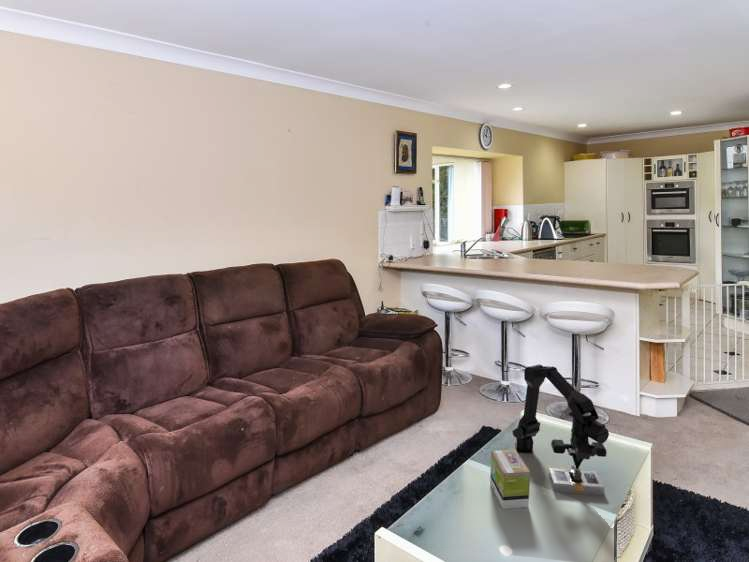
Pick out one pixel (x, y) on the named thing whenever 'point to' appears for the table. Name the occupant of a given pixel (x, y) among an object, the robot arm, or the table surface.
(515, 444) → the robot arm
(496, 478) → the tea box
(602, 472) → the table surface
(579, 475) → the panel
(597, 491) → the rack
